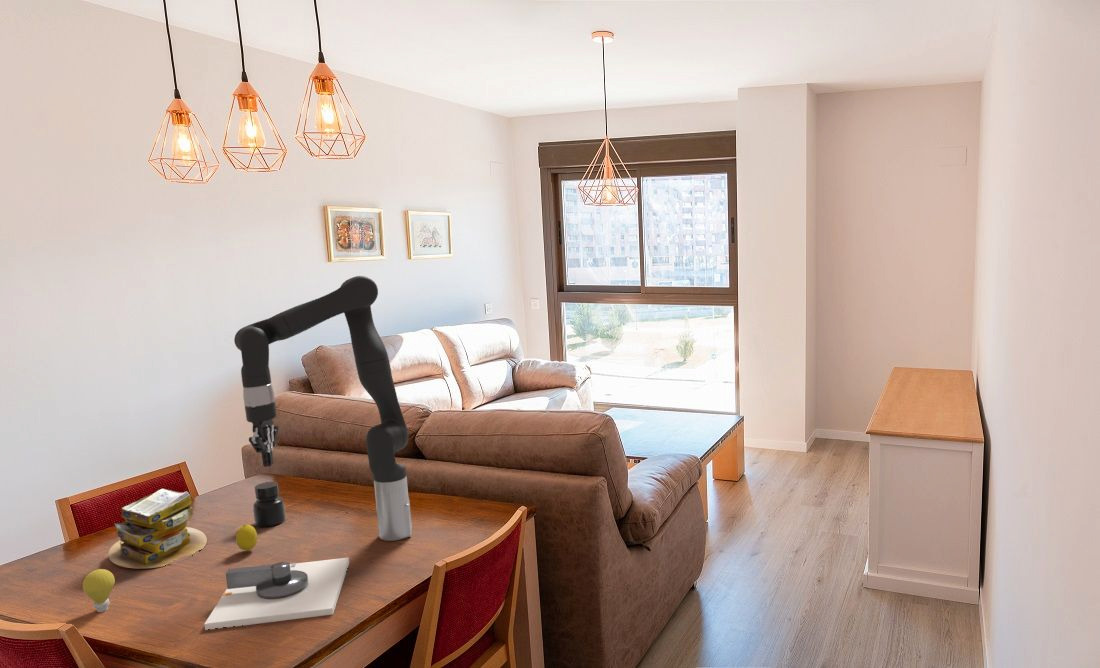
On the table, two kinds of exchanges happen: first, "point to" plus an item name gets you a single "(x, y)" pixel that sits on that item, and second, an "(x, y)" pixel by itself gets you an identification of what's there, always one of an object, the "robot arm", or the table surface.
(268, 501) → the ink bottle
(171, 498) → the stack of boxes
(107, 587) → the light bulb
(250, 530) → the lemon
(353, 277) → the robot arm
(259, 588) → the dial
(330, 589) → the dial plate
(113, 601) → the table surface
